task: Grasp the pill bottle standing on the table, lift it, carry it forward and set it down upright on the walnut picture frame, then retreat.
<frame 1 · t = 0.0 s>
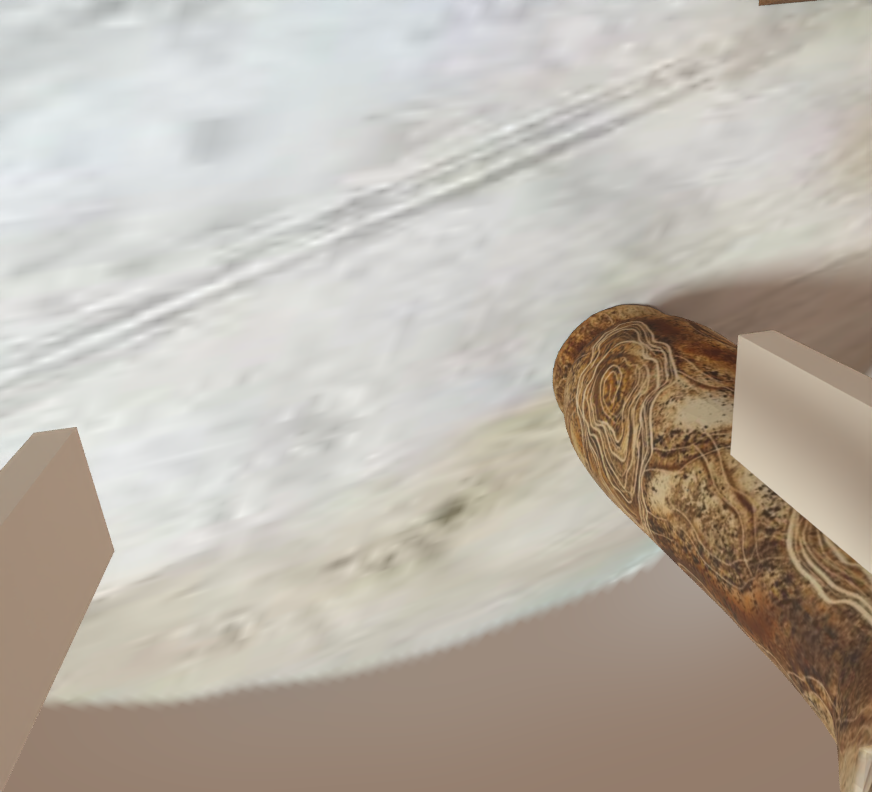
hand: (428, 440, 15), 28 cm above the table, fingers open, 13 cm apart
vase: (613, 373, 46), on the table
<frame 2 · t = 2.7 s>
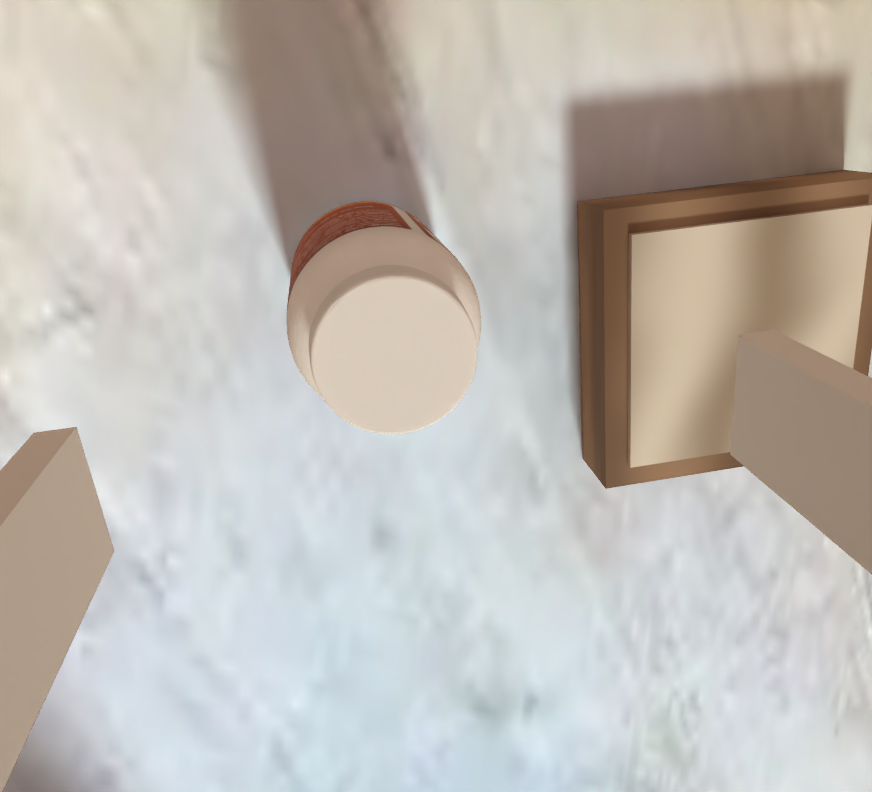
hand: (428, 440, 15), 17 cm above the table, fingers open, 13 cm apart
pill bottle: (368, 274, 30), on the table
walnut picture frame: (707, 321, 33), on the table
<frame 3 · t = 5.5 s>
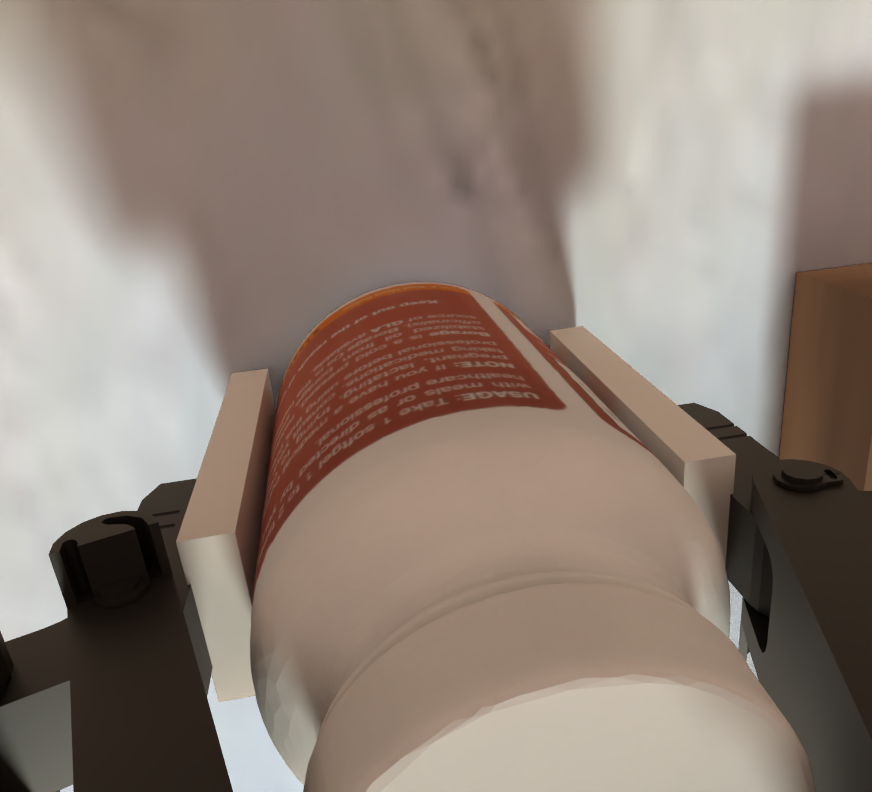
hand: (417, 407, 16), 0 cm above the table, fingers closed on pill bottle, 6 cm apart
pill bottle: (417, 406, 17), on the table, touching gripper
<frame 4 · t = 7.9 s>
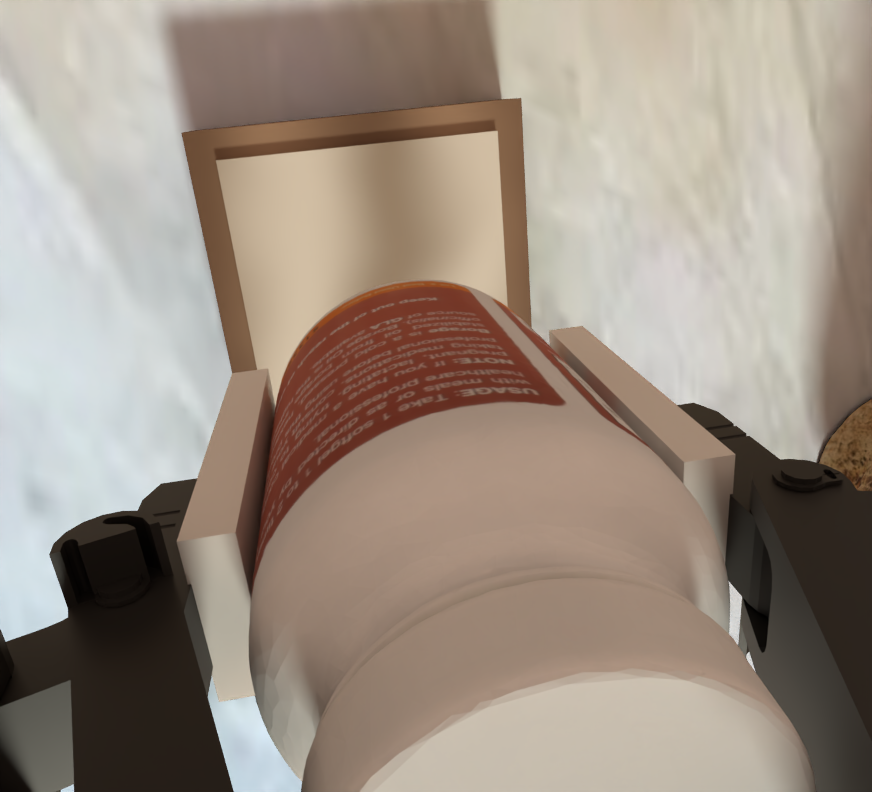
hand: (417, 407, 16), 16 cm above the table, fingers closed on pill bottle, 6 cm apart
pill bottle: (416, 404, 17), point 15 cm above the table, touching gripper
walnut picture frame: (371, 266, 31), on the table
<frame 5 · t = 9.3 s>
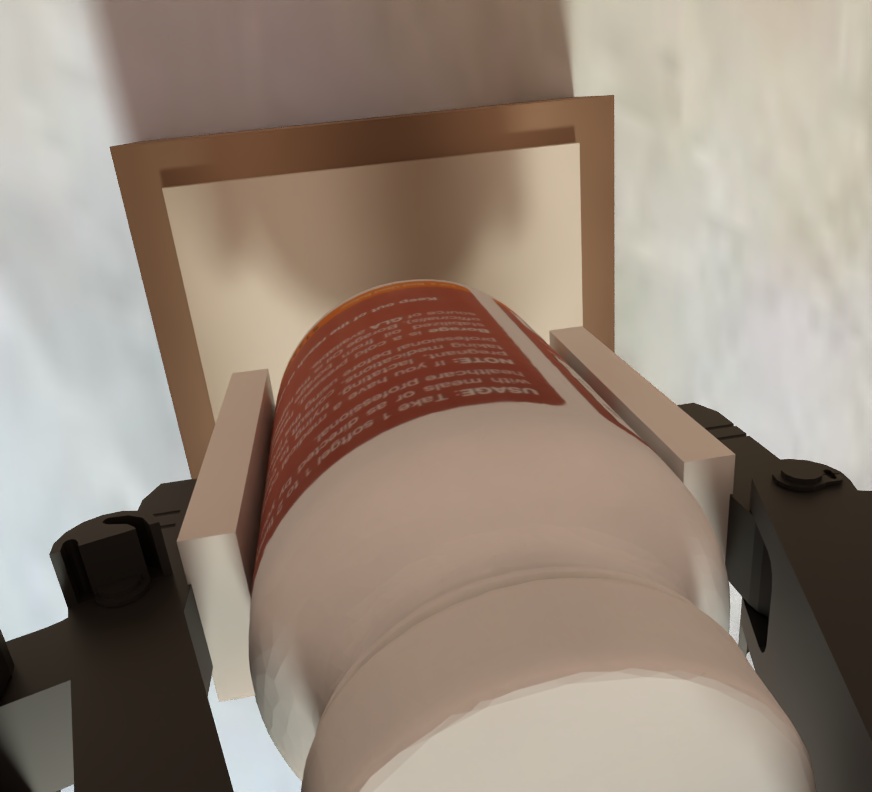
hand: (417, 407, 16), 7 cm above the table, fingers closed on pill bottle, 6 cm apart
pill bottle: (416, 403, 17), point 6 cm above the table, touching gripper
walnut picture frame: (389, 327, 22), on the table
when the fingers open (4 cm above the table, at t = 10.5 s): pill bottle stays where it is, resting on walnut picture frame.
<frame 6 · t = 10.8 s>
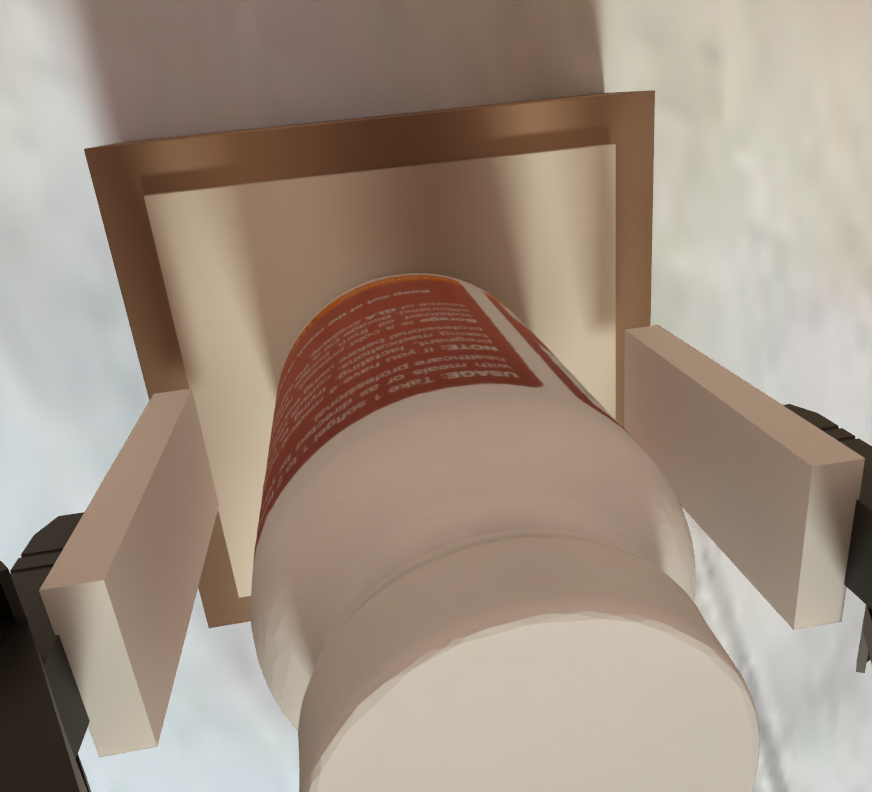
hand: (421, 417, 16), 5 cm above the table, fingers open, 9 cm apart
pill bottle: (411, 392, 18), point 3 cm above the table, touching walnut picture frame
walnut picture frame: (398, 347, 20), on the table
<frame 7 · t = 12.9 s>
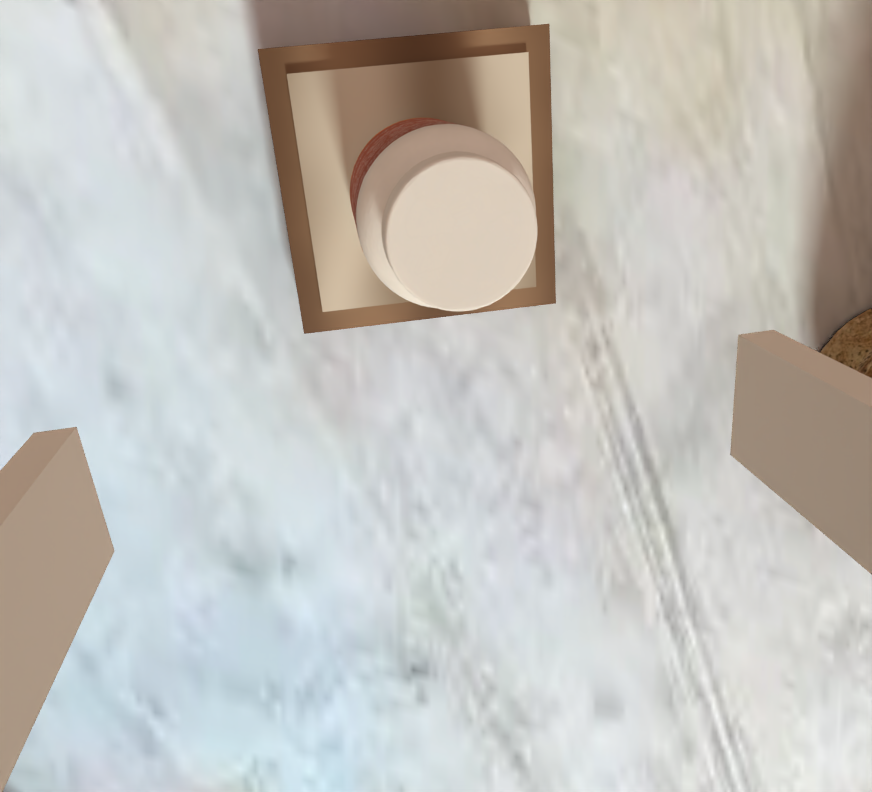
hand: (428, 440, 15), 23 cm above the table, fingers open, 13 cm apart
pill bottle: (420, 191, 32), point 3 cm above the table, touching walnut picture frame
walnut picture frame: (413, 180, 35), on the table
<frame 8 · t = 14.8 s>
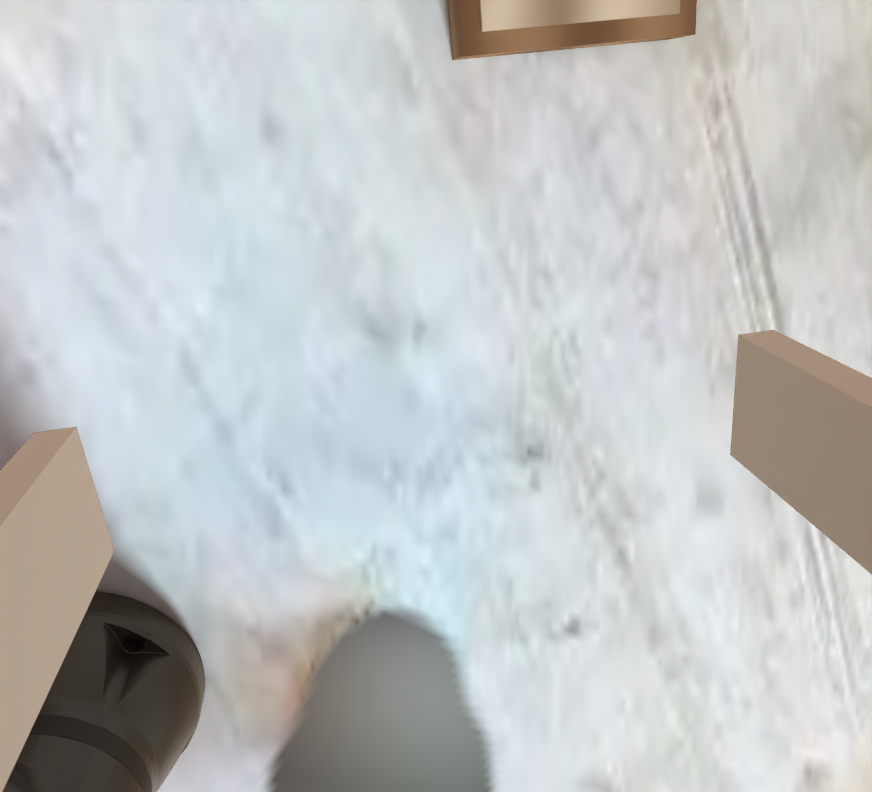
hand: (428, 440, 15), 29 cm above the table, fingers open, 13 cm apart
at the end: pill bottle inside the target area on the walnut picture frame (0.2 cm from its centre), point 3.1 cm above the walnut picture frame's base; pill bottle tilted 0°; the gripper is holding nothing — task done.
